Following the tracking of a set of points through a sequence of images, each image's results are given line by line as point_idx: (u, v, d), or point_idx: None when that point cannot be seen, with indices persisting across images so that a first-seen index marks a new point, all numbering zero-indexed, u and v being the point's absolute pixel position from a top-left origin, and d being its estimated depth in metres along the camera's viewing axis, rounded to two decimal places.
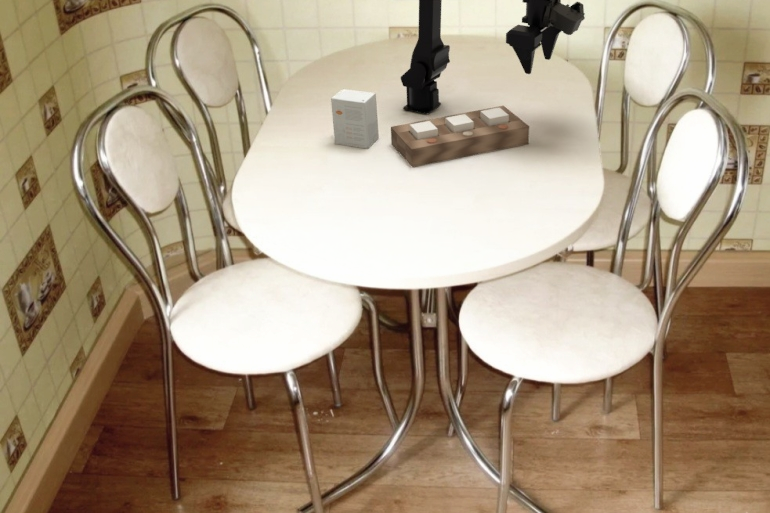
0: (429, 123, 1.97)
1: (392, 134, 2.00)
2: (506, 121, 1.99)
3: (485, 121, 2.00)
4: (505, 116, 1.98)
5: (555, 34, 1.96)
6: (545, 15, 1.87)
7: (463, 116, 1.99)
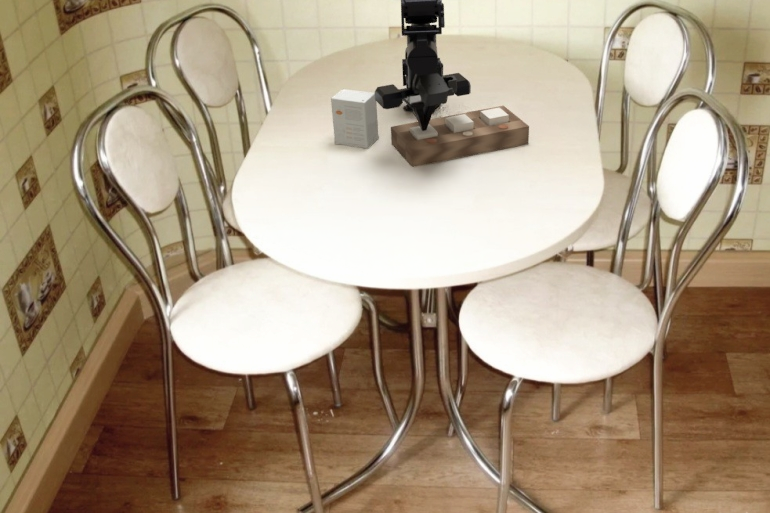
0: (429, 126, 1.97)
1: (392, 134, 2.00)
2: (506, 121, 1.99)
3: (485, 121, 2.00)
4: (505, 116, 1.98)
5: (428, 107, 1.92)
6: (413, 81, 1.87)
7: (463, 116, 1.99)
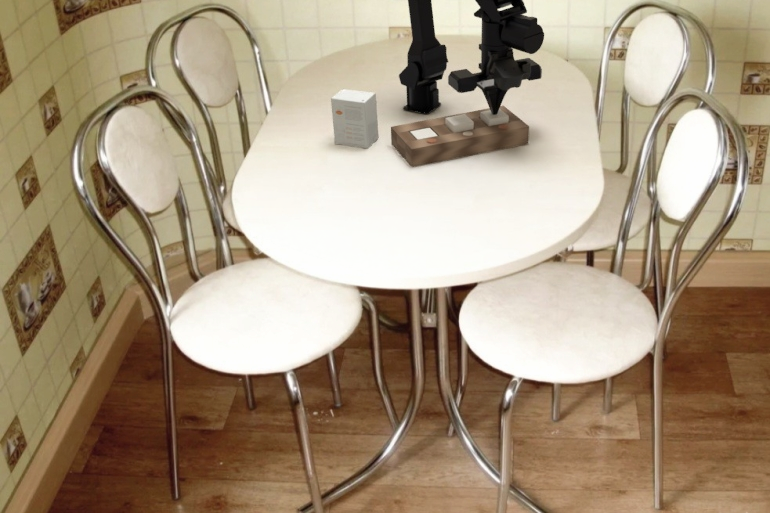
0: (429, 130, 1.97)
1: (392, 134, 2.00)
2: (506, 122, 1.99)
3: (485, 122, 2.00)
4: (505, 117, 1.99)
5: (500, 91, 1.96)
6: (487, 65, 1.91)
7: (463, 116, 1.99)
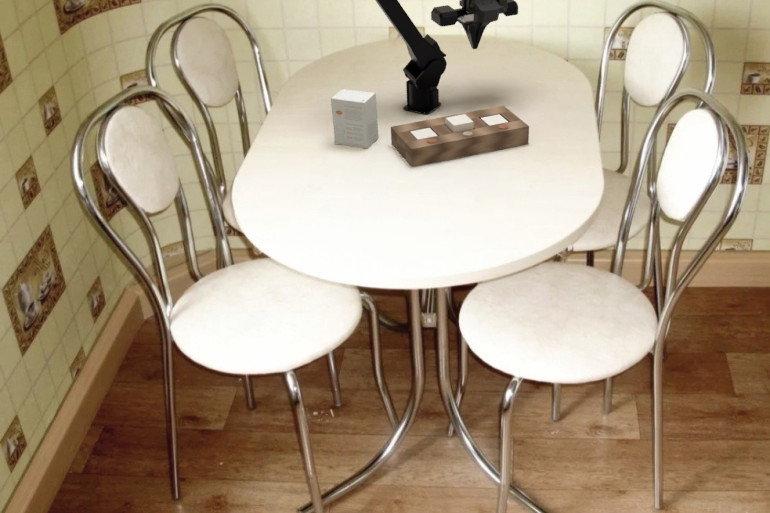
0: (429, 130, 1.97)
1: (392, 134, 2.00)
2: None
3: None
4: None
5: (479, 26, 2.11)
6: (467, 1, 2.06)
7: (463, 116, 1.99)
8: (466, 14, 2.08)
